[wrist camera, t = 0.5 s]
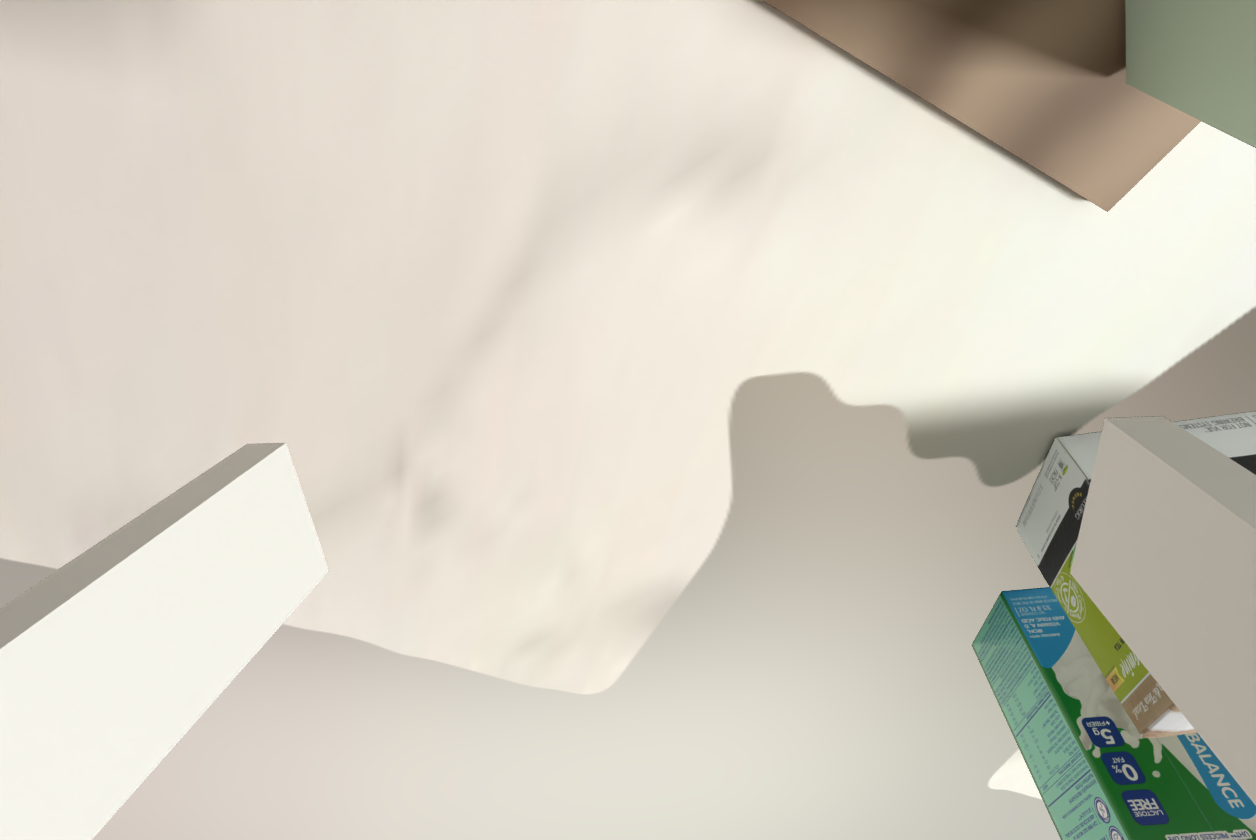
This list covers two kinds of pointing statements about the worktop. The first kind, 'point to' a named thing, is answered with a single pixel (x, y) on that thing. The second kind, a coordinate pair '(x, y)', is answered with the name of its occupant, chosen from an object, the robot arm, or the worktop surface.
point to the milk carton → (1098, 738)
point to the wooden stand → (1017, 79)
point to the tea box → (1052, 546)
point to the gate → (1196, 59)
